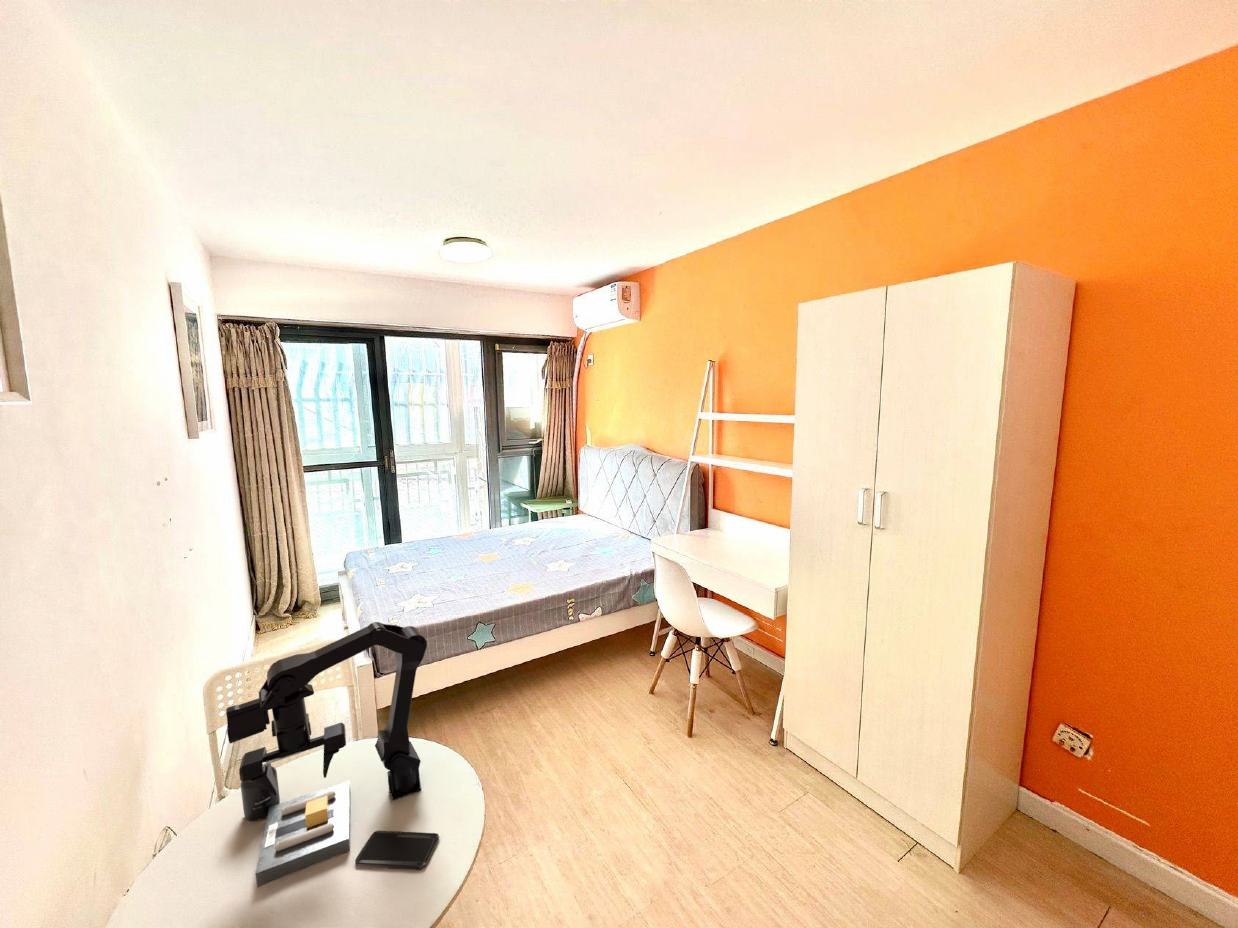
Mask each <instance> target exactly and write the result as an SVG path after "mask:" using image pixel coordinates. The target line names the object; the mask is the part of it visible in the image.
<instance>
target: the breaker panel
mask: <svg viewBox="0 0 1238 928" xmlns="http://www.w3.org/2000/svg"><path fill="white" fill-rule="evenodd" d="M350 783H351V782H350V780H347V781H344V782H341V783H338V784H336V785H333V786H329V787H326V788H323V789H319V790H317V791H314V792H311V793H308V794H305V795H302V796H298V797H297V798H293V799H291V800H290V799H289V800H287V801H284V802H281V803H280V804H278V805H275V806H272V807H269V811H268V816H267V817H266V821H265V826H264V831H263V835H262V841H261V845H260V849H259V855H258V861H257V865H256V868H255V869H256V870H255V879H256V880H255V881H256V886H257V888H259V887H261V886H264V885H266V884H269V883H272V882H275V881H277V880H279V879H282V878H284V877H287V876H290V875H292V874H295V873H297V872H300V871H302V870H305V869H308V868H309V867H312V866H315V865H318V864H321V863H322V862H325V861H327V860H330V859H333V858H336V857H338V856H340V855H343V854H346V853H347V852H350V851H351V798H352V797H351V792H352V791H351V784H350ZM330 791H335V793H336V795H335V797H334V798H333V799H330V800H328V804H329V814H328V821H325V822H323V823H320V824H317V825H314V826H312V827H309V828H306V819H305V812H306V808H304V809H301V810H298V811H295V812H292V813H289V814H286V815H282V814H281V810H282V808H283V807H285V806H288V805H291V804H294V803H297V802H300V801H303V800H306V799H309V798H312V797H315V796H318V795H321V794H324V793H327V792H330ZM329 823H333V824H334V829H333V830H332V831H331V832H328V833H326V834H323V835H320V836H318V837H315V838H312V839H309V840H307V841H304V842H301V843H299V844H296V845H293V846H291V847H288V848H285V849H283V850H280V851H276V850H275V845H276V843H277V842H279V841H282V840H285V839H287V838H290V837H293V836H296V835H298V834H301V833H304V832H307V831H309V830H312V829H315V828H318V827H320V826H323V825H326V824H329Z"/></svg>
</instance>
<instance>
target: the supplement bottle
mask: <svg viewBox="0 0 1238 928" xmlns="http://www.w3.org/2000/svg"><path fill="white" fill-rule="evenodd" d="M271 768H272V772H273V775H274V778H275V781H276V785H277V795H276V796H274V795H273V794H272V793H271V792H270V791H269V790H268V789H267V788H266V787H265V786H263V785H261V784H260V783H258V782H257V781H254V782H250V779H249V780H246V781H240V794H241V801H242V809H243V815H244V816H243V817H244V819H245V820H247V821H249V822H258V821H261V820H263V819H267V816H268V811H269V807H272V806H275V805H278V804H281V803H280V801H281V798H280V788H279V779H278V771H277V769H276V768H275V767H274V766H272V765H271Z"/></svg>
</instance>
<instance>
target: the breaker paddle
mask: <svg viewBox="0 0 1238 928" xmlns="http://www.w3.org/2000/svg"><path fill="white" fill-rule="evenodd" d="M328 814H329V804H328V795H327V796H324V797H321V798H319V799H316V800H313V801H310V802H307V803H306V812H305V819H306V828H309V827H312V826H314V825H317V824H320V823H323V822H325V821H328Z"/></svg>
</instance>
